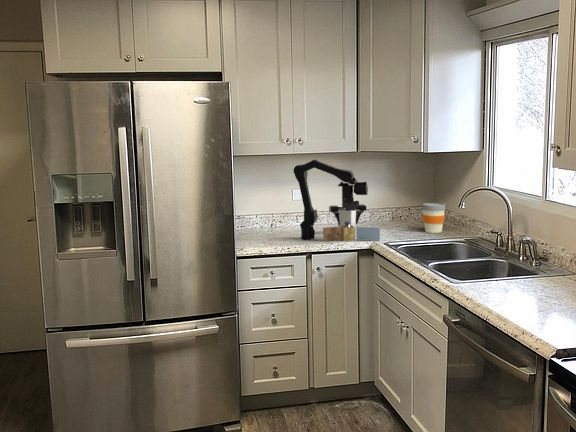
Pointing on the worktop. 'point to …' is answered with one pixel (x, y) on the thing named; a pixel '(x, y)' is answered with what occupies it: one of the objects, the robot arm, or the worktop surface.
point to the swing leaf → (368, 233)
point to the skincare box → (346, 217)
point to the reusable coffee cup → (433, 216)
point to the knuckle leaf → (339, 233)
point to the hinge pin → (347, 223)
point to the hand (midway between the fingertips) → (347, 224)
